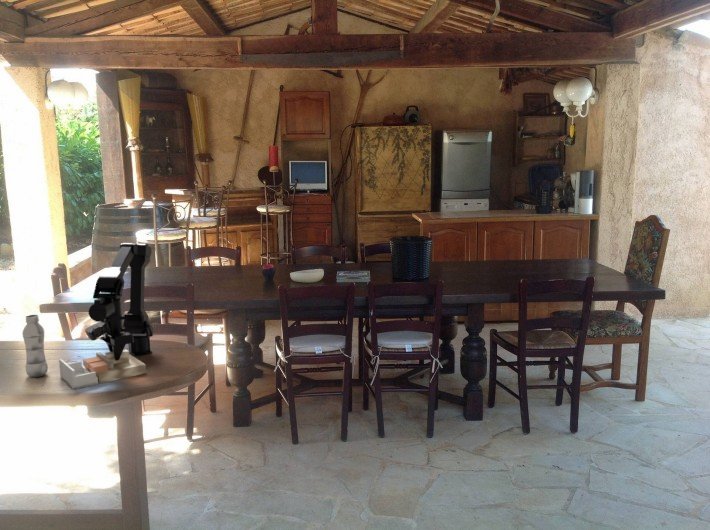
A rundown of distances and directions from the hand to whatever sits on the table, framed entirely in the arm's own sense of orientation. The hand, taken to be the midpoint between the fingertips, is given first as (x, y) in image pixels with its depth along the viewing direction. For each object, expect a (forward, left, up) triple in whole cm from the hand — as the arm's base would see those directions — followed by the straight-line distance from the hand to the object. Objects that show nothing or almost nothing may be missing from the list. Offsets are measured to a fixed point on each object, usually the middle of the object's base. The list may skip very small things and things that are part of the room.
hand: (115, 359), depth 210 cm
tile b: (+6, +3, -1) cm, 7 cm away
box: (+12, 0, -4) cm, 13 cm away
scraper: (0, 0, -1) cm, 1 cm away
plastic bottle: (+21, -13, -5) cm, 25 cm away
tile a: (+7, -3, -2) cm, 7 cm away
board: (0, 0, -4) cm, 5 cm away
